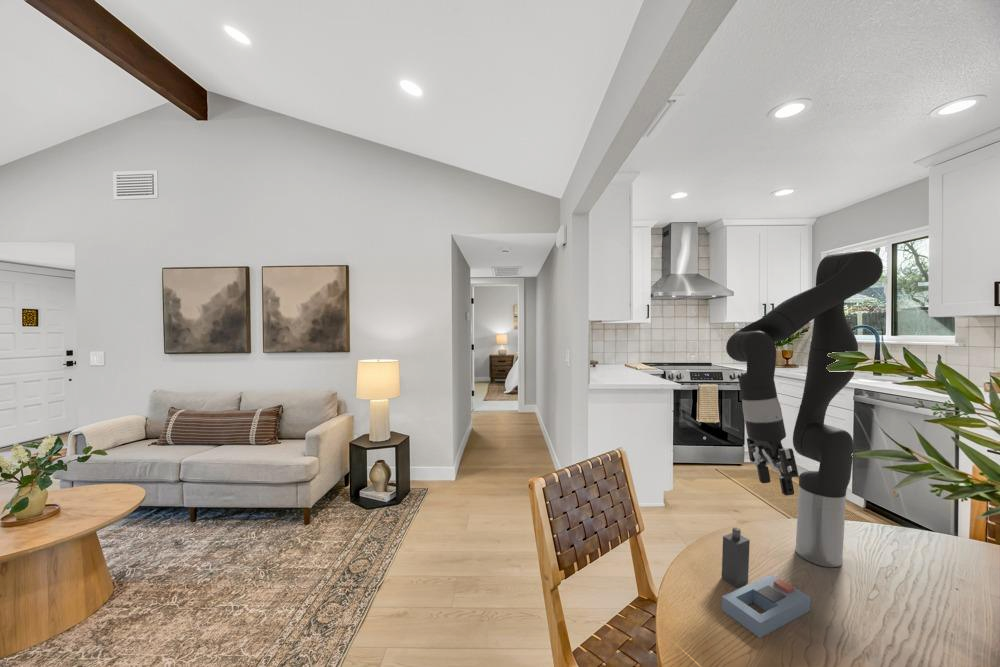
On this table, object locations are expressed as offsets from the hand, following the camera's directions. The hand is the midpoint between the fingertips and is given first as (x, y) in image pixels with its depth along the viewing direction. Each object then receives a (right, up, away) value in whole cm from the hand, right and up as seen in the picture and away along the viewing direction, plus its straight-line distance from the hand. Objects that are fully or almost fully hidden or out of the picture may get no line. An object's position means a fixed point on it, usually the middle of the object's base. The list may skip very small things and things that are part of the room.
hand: (776, 488), depth 95 cm
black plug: (-9, -21, 0) cm, 23 cm away
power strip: (-8, -22, -9) cm, 25 cm away
